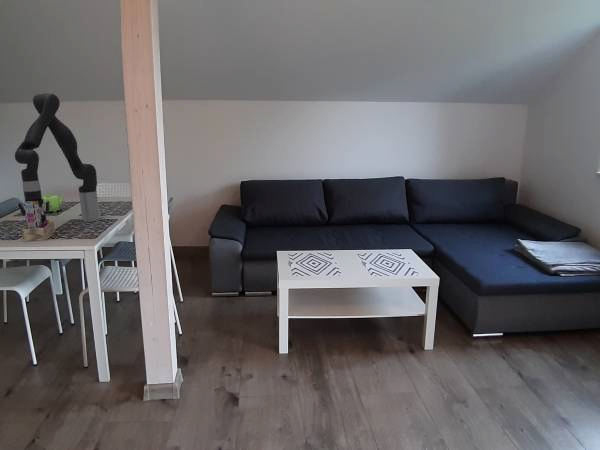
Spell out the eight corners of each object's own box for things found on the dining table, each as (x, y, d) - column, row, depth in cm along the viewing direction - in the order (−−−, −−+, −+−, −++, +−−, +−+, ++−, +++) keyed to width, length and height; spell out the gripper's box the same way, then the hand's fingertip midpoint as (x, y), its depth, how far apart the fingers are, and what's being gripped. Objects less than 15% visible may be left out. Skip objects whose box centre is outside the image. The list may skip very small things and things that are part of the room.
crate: (54, 231, 238) (53, 220, 237) (47, 239, 223) (45, 228, 221) (31, 232, 235) (30, 222, 234) (22, 241, 220) (20, 230, 218)
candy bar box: (38, 234, 223) (33, 202, 219) (28, 234, 223) (22, 202, 219) (48, 228, 234) (44, 198, 230) (38, 228, 234) (33, 198, 230)
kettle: (68, 210, 289) (66, 193, 286) (51, 215, 276) (48, 197, 273) (50, 208, 294) (48, 192, 291) (32, 213, 280) (29, 196, 278)
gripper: (49, 187, 228) (54, 219, 233) (18, 189, 224) (23, 221, 229) (46, 190, 222) (51, 222, 226) (13, 191, 217) (19, 225, 222)
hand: (37, 222), depth 227 cm, fingers closed on candy bar box, 5 cm apart
